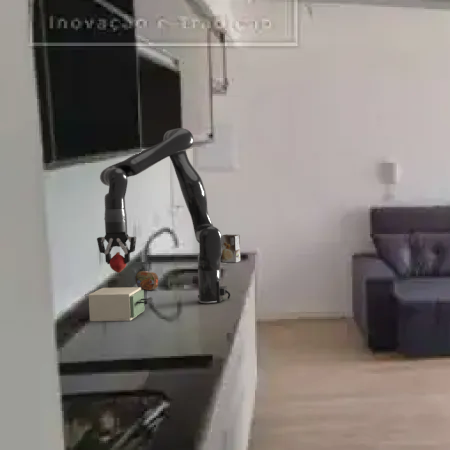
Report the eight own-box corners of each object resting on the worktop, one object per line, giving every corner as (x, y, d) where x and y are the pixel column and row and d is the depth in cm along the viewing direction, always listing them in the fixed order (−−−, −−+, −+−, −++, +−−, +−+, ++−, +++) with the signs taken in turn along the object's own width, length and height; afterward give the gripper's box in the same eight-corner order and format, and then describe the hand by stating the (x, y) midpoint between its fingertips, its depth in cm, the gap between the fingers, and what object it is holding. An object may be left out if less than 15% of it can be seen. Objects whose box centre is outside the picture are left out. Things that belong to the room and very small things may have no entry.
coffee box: (241, 261, 378) (240, 234, 376) (236, 262, 371) (235, 235, 370) (226, 260, 379) (226, 234, 377) (221, 262, 373) (220, 235, 371)
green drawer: (155, 310, 252) (154, 289, 251) (145, 317, 240) (144, 296, 239) (109, 311, 250) (108, 290, 249) (96, 318, 239) (95, 296, 238)
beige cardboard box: (142, 312, 252) (141, 287, 251) (130, 320, 239) (129, 294, 238) (103, 313, 250) (102, 287, 249) (89, 321, 238) (88, 294, 237)
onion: (120, 274, 238) (119, 253, 237) (106, 273, 239) (105, 253, 238) (130, 271, 244) (129, 251, 243) (116, 271, 245) (115, 250, 244)
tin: (135, 287, 299) (134, 270, 298) (141, 286, 302) (140, 269, 301) (153, 291, 291) (153, 273, 290) (160, 290, 293) (159, 272, 293)
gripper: (138, 219, 244) (140, 261, 246) (100, 219, 242) (102, 262, 244) (131, 221, 236) (134, 265, 238) (91, 221, 235) (94, 265, 237)
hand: (117, 263), depth 241 cm, fingers closed on onion, 5 cm apart
